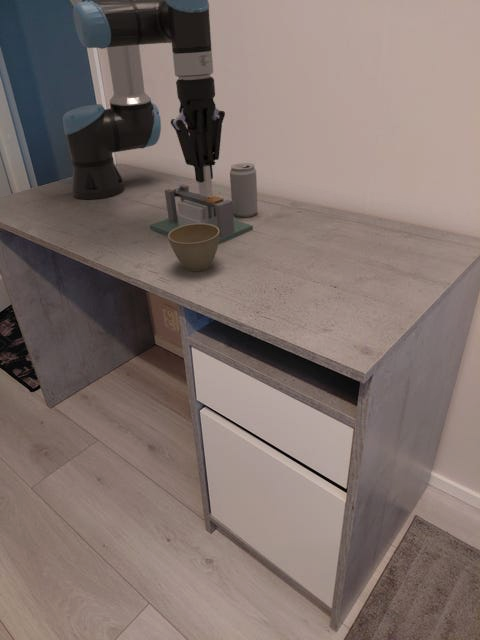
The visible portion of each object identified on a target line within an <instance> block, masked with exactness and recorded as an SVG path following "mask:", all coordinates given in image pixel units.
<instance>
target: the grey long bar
mask: <svg viewBox="0 0 480 640" xmlns="http://www.w3.org/2000/svg"><path fill="white" fill-rule="evenodd" d="M172 190H173V191H174V196H175V198H176V197H178V198H180V199H181V198H184V199H187V200H191V201H194V202H197V203H201V204H204V205H208V206H211V207H214V204H217V203H220V202H222V201H225V200H224V198H222V197H220V196H215V195H213V196H210V197H204V196H201V195H200V194H199V193H195V192H192V191H190V190H189V191H185V190H183V189H182V188H175V189H172ZM214 208H215V207H214Z"/></svg>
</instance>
